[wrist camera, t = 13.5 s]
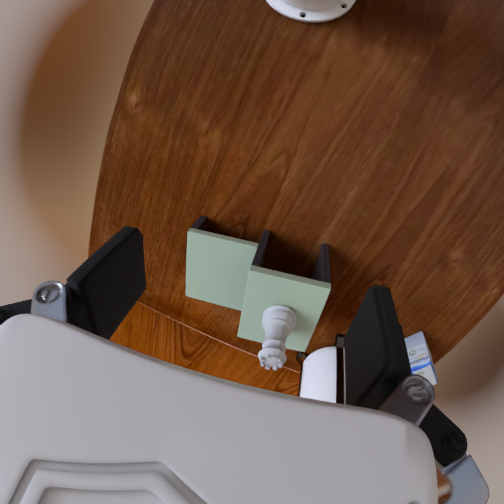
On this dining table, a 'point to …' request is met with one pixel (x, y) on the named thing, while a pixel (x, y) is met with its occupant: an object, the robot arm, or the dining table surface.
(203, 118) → the dining table surface
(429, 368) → the medicine box
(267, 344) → the rook chess piece
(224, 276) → the rack
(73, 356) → the robot arm
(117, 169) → the dining table surface
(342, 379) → the coffee press
